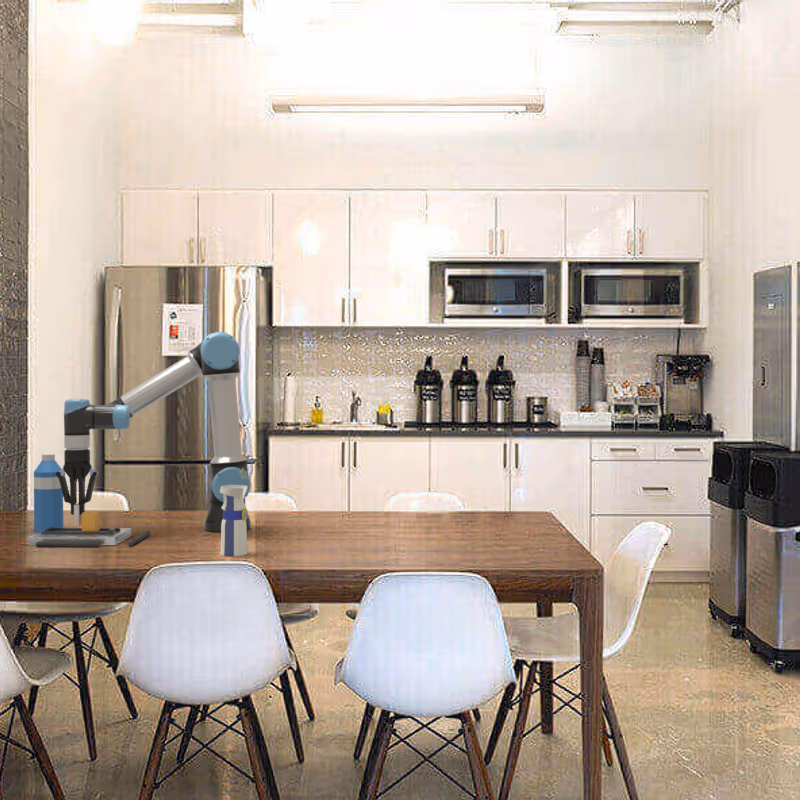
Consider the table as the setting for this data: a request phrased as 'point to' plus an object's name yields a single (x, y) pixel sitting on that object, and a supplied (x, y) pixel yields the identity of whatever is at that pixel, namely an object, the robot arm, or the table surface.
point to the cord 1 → (66, 544)
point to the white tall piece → (234, 519)
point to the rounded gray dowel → (139, 538)
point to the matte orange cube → (91, 521)
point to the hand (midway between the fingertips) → (77, 525)
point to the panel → (81, 535)
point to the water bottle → (47, 495)
